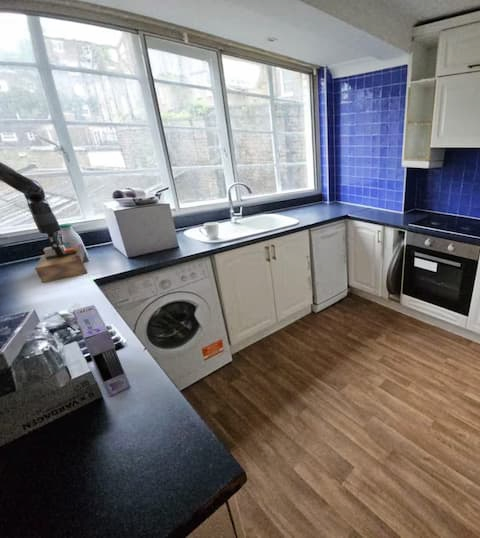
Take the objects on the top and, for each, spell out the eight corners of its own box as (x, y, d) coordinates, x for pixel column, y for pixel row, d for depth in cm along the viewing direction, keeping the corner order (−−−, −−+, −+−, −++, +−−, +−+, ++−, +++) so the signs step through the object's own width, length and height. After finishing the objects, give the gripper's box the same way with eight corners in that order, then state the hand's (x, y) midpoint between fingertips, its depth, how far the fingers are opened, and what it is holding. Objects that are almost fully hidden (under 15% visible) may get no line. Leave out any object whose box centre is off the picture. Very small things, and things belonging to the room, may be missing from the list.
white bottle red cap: (46, 259, 143) (41, 250, 141) (47, 256, 147) (43, 248, 145) (76, 253, 150) (72, 245, 148) (76, 251, 153) (72, 243, 151)
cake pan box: (134, 388, 74) (108, 329, 67) (109, 400, 70) (79, 340, 63) (117, 355, 86) (93, 303, 79) (95, 365, 82) (68, 310, 75)
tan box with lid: (42, 283, 136) (32, 264, 132) (49, 268, 153) (40, 251, 149) (87, 273, 145) (79, 255, 141) (89, 260, 162) (82, 244, 158)
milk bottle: (89, 255, 170) (74, 221, 162) (88, 258, 164) (74, 224, 156) (71, 258, 165) (55, 224, 157) (70, 262, 160) (54, 226, 152)
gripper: (37, 221, 144) (53, 252, 151) (33, 226, 134) (49, 260, 141) (58, 218, 149) (72, 249, 155) (55, 223, 138) (70, 256, 145)
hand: (61, 254), depth 148 cm, fingers open, 6 cm apart
